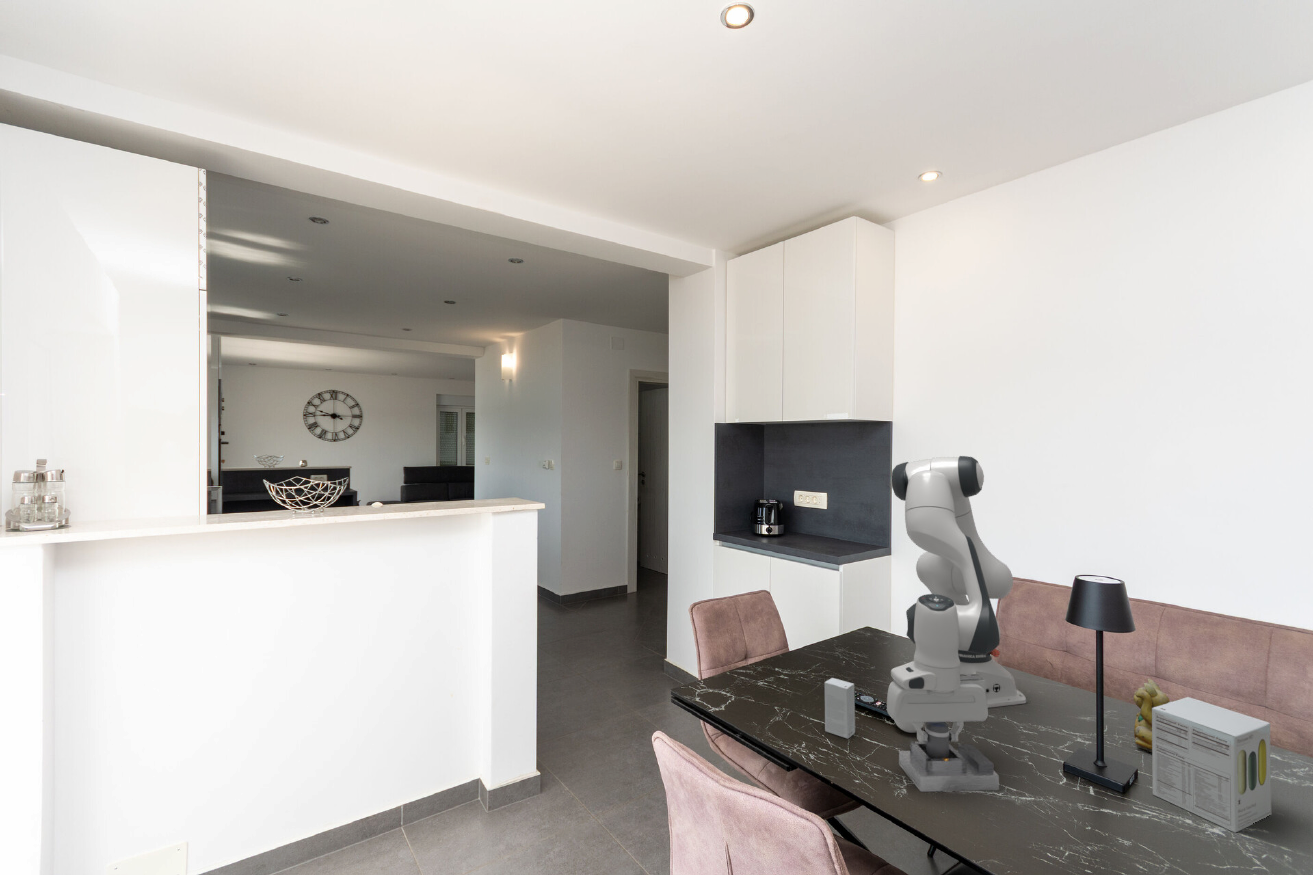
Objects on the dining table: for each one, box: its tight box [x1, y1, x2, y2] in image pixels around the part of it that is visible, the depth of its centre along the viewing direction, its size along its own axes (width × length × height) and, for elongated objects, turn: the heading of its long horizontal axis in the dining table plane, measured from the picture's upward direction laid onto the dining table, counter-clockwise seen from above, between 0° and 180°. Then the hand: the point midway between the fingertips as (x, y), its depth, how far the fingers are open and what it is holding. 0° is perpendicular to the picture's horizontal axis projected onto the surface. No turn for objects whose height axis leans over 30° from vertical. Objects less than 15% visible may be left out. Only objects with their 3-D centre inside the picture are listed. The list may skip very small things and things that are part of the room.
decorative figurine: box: [1133, 678, 1171, 753], centre depth 136 cm, size 10×8×15 cm
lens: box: [924, 722, 950, 759], centre depth 125 cm, size 5×5×8 cm
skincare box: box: [824, 677, 856, 739], centre depth 144 cm, size 6×4×12 cm
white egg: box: [894, 721, 926, 734], centre depth 146 cm, size 10×7×7 cm
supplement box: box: [1151, 696, 1272, 834], centre depth 115 cm, size 13×13×18 cm
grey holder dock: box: [898, 741, 1000, 793], centre depth 125 cm, size 16×10×6 cm, turn 91°
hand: (937, 740), depth 125 cm, fingers open, 5 cm apart
